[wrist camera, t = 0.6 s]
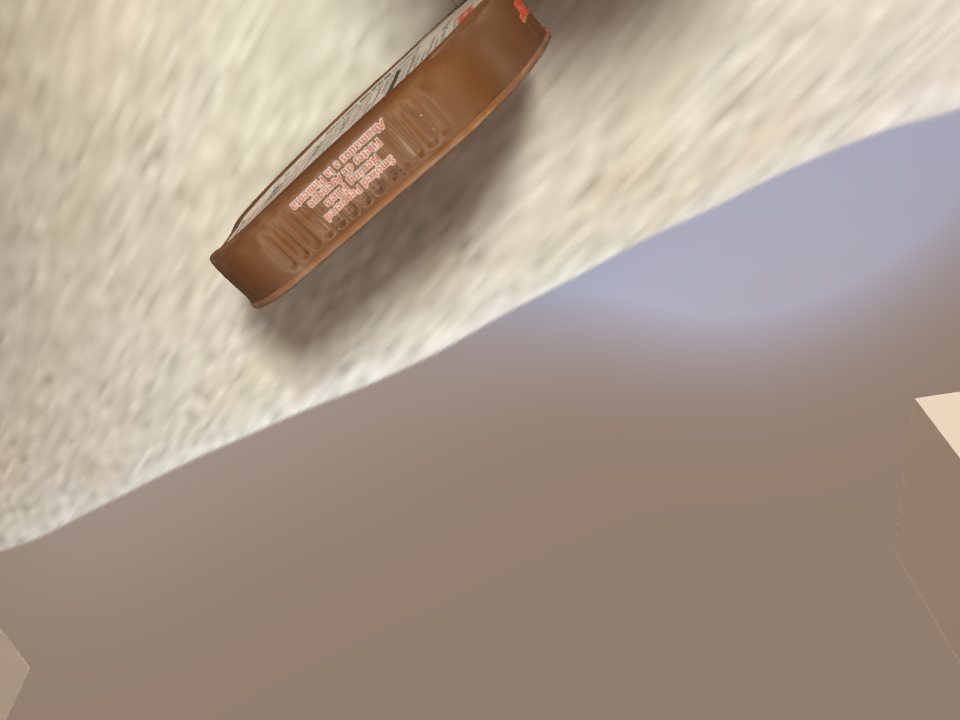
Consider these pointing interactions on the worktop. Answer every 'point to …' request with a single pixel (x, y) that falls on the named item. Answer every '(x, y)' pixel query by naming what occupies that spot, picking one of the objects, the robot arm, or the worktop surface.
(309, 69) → the worktop surface
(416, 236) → the worktop surface
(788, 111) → the worktop surface
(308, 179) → the tin
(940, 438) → the robot arm
